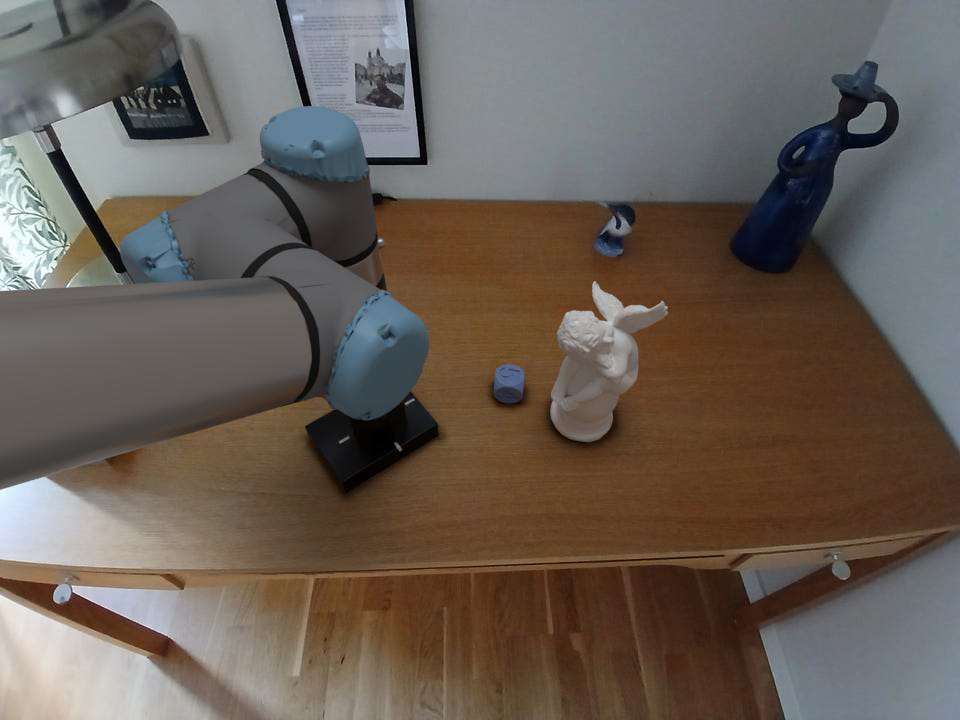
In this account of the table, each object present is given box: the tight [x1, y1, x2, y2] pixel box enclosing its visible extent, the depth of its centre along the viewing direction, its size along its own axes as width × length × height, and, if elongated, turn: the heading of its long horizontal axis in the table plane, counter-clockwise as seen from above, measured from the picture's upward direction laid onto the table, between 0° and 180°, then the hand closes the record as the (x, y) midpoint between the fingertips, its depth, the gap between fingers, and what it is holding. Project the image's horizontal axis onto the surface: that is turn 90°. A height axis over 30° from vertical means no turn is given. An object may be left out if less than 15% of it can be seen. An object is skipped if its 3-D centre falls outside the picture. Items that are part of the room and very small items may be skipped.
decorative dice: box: [493, 363, 526, 404], centre depth 78 cm, size 4×4×4 cm
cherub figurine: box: [549, 280, 669, 443], centre depth 69 cm, size 12×12×22 cm
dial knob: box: [347, 400, 406, 437], centre depth 69 cm, size 7×2×8 cm, turn 115°
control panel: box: [304, 390, 439, 494], centre depth 73 cm, size 14×11×3 cm
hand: (376, 415), depth 71 cm, fingers closed on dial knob, 2 cm apart
